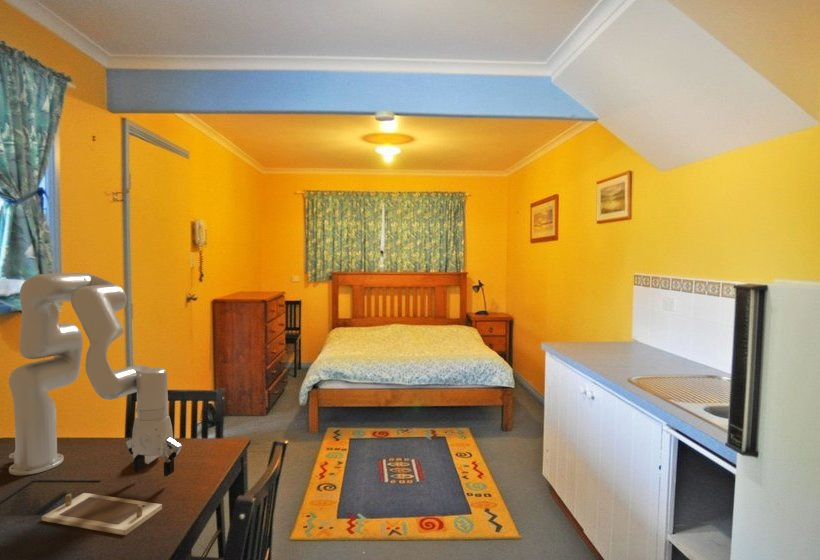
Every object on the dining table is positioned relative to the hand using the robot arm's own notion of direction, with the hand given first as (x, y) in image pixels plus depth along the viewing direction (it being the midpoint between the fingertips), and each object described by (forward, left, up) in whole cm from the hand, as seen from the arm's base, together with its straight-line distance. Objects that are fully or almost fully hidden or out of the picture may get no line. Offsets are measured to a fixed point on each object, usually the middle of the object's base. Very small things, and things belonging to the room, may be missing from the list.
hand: (154, 472), depth 124 cm
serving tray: (0, -16, -3) cm, 16 cm away
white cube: (-11, +11, -3) cm, 16 cm away
